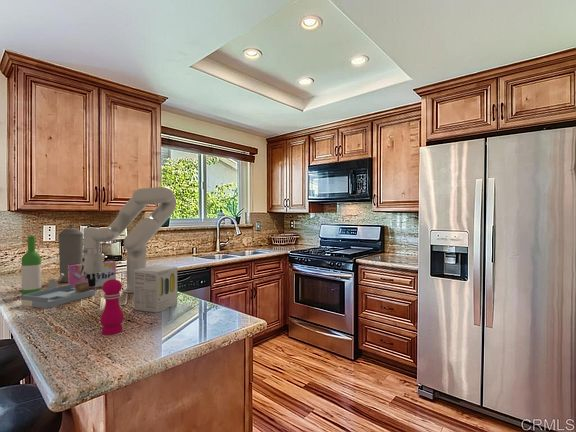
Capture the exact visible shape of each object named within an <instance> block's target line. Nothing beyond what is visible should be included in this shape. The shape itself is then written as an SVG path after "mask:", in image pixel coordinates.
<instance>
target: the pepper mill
mask: <svg viewBox="0 0 576 432" xmlns="http://www.w3.org/2000/svg"><path fill="white" fill-rule="evenodd" d="M109 279H110V280H108V281H106V282H105V283H104V284H103V286H101V287H102V288H101V289H102V292H103V293H104V294H103V296H104V298H103V299H105V300H104V301H105V304H104V305H105V306H104V309H103V312H102V313H101V316H100V324H101V326H103V327H102V328H101V334H102V335H105V336H112V335H116V334H117V335H118V334H119V333H122V331H123V325H122V323H123V321H124V320H125V318H124V313H123V310H122V309H121V307H120V303H119V301H120V300H119V299H120V297H121V292H120V291H121V290H122V288H123V285H122V282H121V281H120V280H118V279H116V280H115V276H114V275H111V276H110V277H109Z"/></svg>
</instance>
